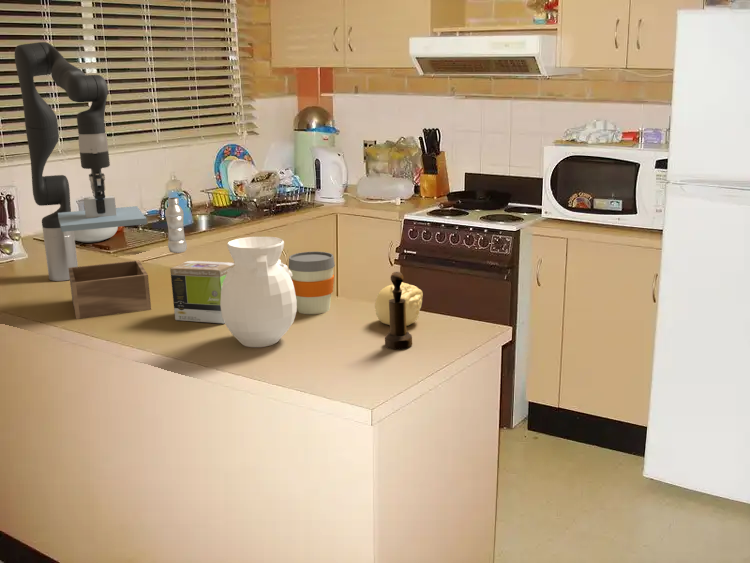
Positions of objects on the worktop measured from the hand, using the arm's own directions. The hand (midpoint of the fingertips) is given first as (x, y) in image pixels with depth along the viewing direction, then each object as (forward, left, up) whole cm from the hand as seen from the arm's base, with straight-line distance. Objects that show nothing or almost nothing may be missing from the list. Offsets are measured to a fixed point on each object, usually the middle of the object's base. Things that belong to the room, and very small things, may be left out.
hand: (100, 211), depth 238 cm
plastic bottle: (-61, +29, -27) cm, 73 cm away
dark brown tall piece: (+69, +60, -27) cm, 95 cm away
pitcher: (+51, +31, -27) cm, 66 cm away
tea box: (+25, +23, -27) cm, 44 cm away
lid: (0, 0, -3) cm, 3 cm away
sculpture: (+53, +67, -27) cm, 90 cm away
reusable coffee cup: (+31, +51, -27) cm, 66 cm away
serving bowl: (-101, +2, -27) cm, 105 cm away
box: (0, 0, -27) cm, 27 cm away
